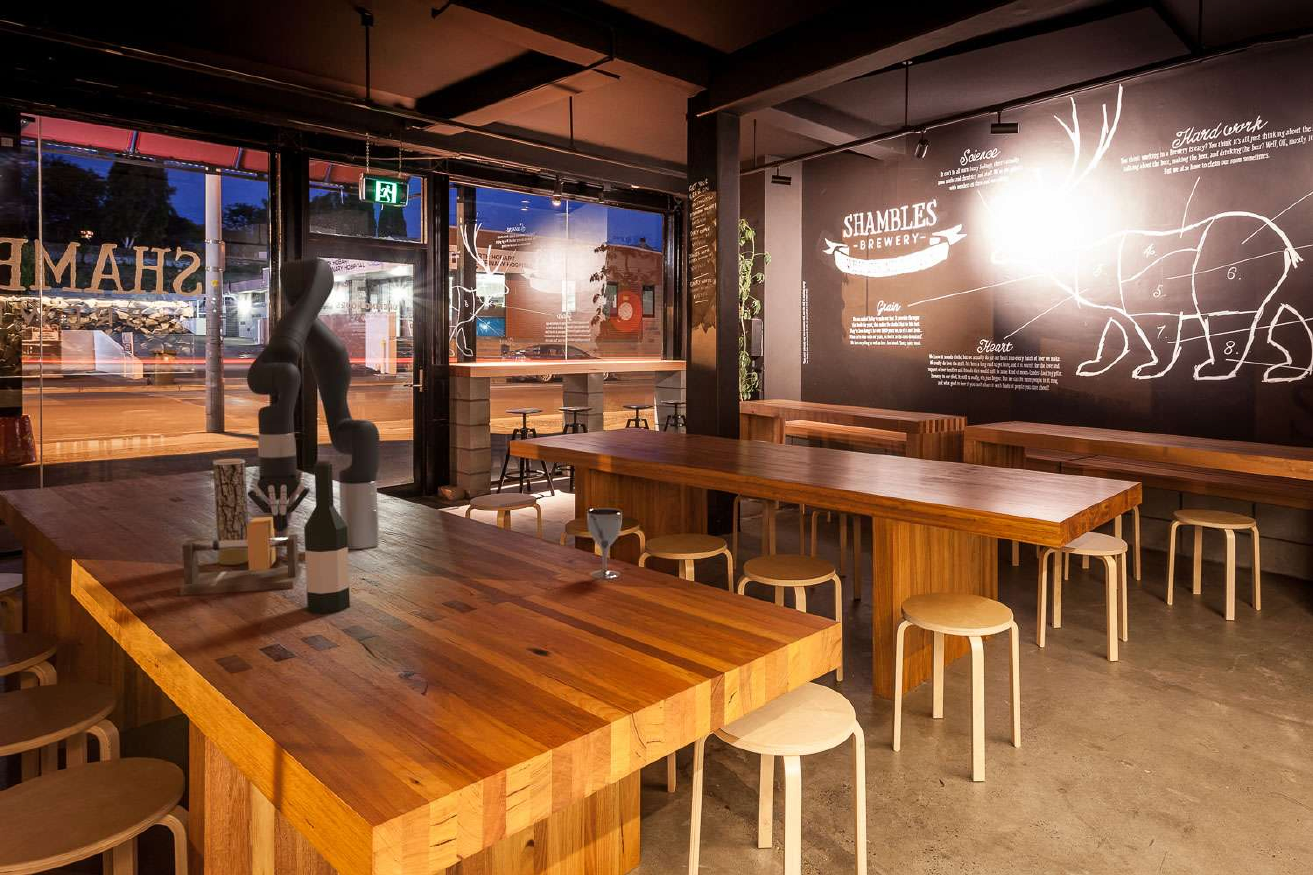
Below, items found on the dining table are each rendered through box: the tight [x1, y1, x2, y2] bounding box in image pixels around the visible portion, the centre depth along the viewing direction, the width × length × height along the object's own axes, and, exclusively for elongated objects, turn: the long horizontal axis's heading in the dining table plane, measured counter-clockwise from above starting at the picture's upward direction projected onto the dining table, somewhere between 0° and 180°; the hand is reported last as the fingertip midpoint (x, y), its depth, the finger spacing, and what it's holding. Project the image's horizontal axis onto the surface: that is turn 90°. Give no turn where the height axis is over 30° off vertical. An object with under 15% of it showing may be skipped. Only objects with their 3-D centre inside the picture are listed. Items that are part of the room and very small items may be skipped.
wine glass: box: [586, 507, 623, 580], centre depth 191 cm, size 8×8×15 cm
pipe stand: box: [179, 534, 302, 596], centre depth 181 cm, size 22×12×10 cm, turn 105°
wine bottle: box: [303, 459, 351, 615], centre depth 165 cm, size 8×8×30 cm
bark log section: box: [212, 458, 249, 566], centre depth 198 cm, size 7×7×25 cm
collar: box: [247, 516, 277, 570], centre depth 182 cm, size 4×8×10 cm, turn 15°
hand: (280, 530), depth 183 cm, fingers closed
